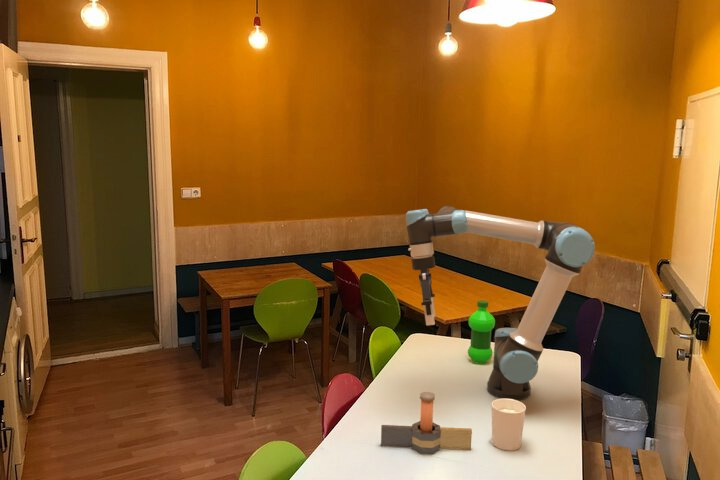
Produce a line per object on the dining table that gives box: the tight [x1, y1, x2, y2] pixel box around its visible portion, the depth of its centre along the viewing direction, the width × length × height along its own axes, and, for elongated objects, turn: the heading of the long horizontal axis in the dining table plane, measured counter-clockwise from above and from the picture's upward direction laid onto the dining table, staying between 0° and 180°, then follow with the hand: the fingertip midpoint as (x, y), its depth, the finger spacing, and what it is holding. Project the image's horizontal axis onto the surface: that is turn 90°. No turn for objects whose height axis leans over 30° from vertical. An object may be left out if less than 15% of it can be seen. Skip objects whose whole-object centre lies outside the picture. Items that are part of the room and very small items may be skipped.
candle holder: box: [491, 398, 527, 451], centre depth 174 cm, size 10×10×12 cm
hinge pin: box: [419, 391, 436, 432], centre depth 170 cm, size 4×4×16 cm
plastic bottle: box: [467, 300, 496, 365], centre depth 238 cm, size 10×10×25 cm
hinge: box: [380, 420, 473, 455], centre depth 171 cm, size 26×8×6 cm, turn 87°
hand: (431, 320), depth 193 cm, fingers open, 13 cm apart
